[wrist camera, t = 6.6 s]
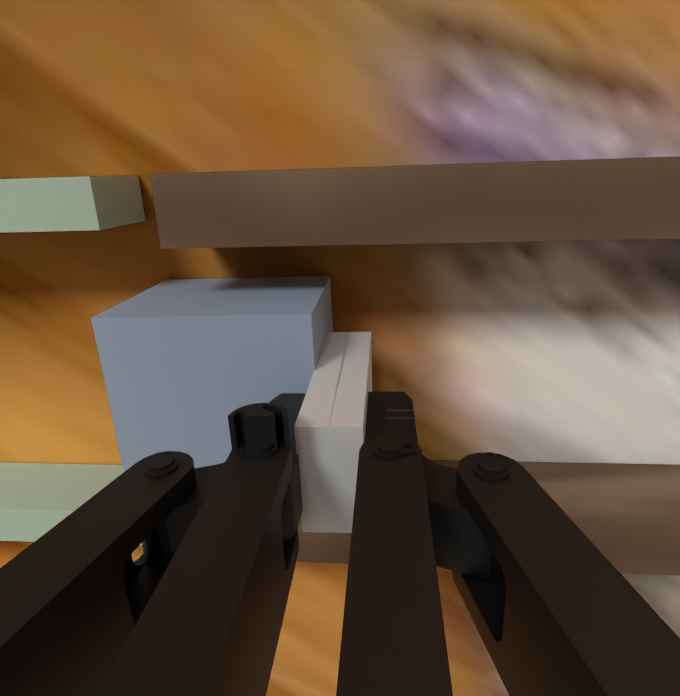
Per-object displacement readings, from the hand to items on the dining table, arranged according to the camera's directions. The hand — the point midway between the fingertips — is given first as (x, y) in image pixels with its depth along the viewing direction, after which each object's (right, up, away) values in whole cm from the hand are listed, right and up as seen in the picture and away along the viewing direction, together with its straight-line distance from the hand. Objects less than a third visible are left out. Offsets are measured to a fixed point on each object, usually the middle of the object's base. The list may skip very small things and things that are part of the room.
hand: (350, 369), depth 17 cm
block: (-4, 0, +2) cm, 4 cm away
